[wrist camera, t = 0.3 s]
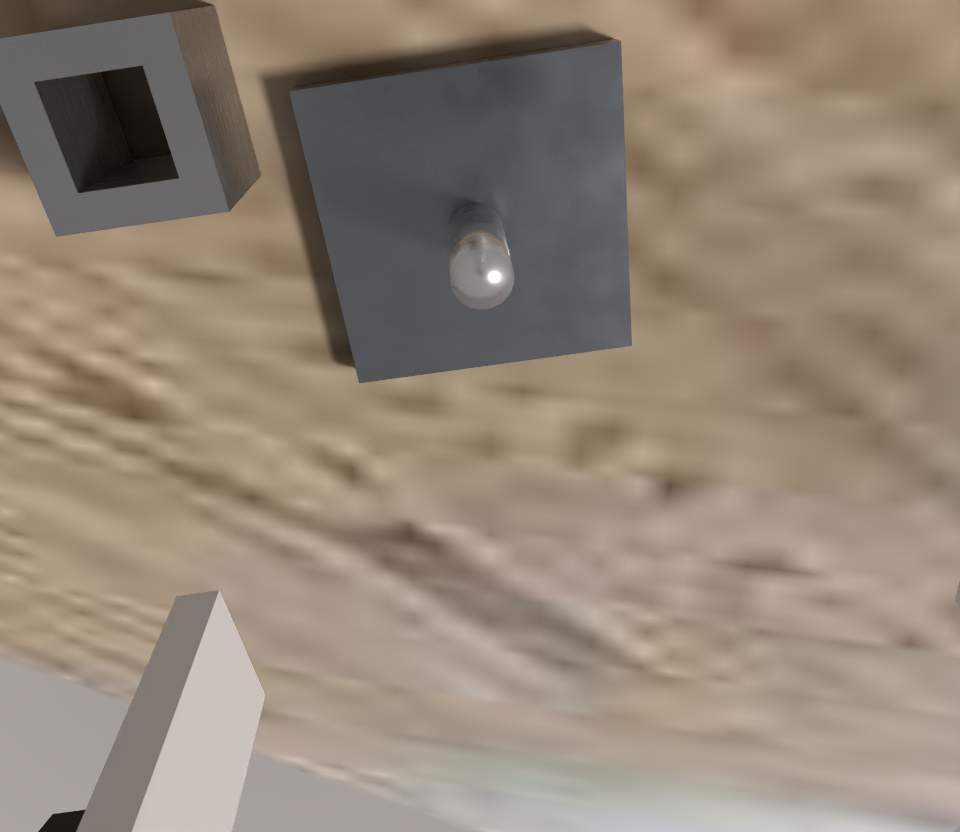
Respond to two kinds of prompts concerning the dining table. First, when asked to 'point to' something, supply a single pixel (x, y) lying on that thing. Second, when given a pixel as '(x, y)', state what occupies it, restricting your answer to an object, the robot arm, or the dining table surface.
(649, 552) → the dining table surface
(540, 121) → the shaft stand
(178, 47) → the grey square sleeve
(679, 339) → the dining table surface
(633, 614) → the dining table surface
